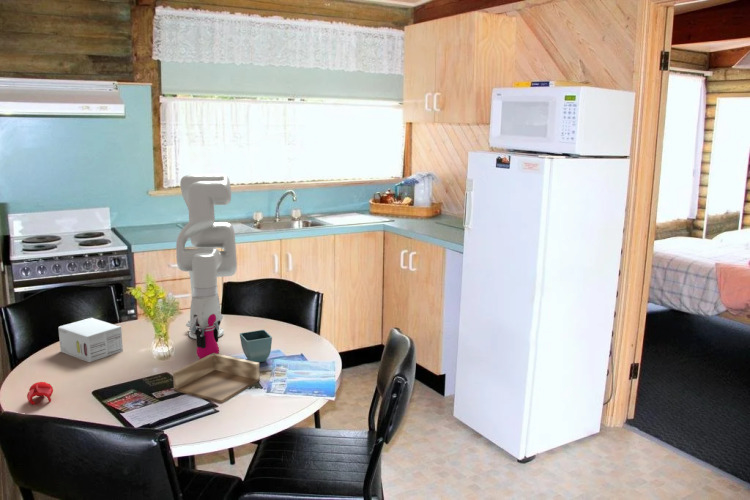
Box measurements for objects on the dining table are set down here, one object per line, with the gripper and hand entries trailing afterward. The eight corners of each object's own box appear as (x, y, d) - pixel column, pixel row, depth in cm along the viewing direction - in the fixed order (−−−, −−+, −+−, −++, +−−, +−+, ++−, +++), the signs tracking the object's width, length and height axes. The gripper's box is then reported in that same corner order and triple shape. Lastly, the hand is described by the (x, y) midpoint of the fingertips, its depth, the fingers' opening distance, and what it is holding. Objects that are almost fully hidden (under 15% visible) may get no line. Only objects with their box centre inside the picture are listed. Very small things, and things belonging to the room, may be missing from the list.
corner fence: (173, 387, 187) (172, 372, 186) (214, 367, 203) (213, 352, 202) (221, 400, 179) (220, 383, 178) (259, 377, 195) (259, 362, 194)
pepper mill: (199, 359, 211) (196, 302, 207) (221, 359, 211) (219, 302, 207) (195, 368, 204) (192, 309, 200) (217, 367, 204) (215, 308, 200)
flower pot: (247, 367, 205) (246, 341, 204) (239, 358, 213) (239, 332, 211) (273, 362, 209) (272, 337, 208) (264, 354, 217) (264, 329, 215)
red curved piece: (55, 393, 176) (56, 376, 180) (32, 391, 173) (33, 374, 177) (47, 410, 180) (48, 393, 184) (24, 408, 177) (25, 391, 181)
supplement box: (59, 352, 216) (57, 326, 214) (94, 341, 227) (92, 316, 225) (89, 363, 207) (86, 336, 206) (123, 351, 218) (121, 325, 216)
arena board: (173, 390, 187) (173, 387, 187) (214, 369, 203) (214, 367, 203) (221, 402, 179) (221, 400, 179) (259, 380, 195) (259, 377, 195)
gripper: (214, 283, 212) (216, 334, 215) (177, 295, 197) (180, 350, 200) (231, 286, 208) (233, 338, 212) (195, 299, 193) (198, 354, 197)
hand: (207, 343), depth 206 cm, fingers closed on pepper mill, 5 cm apart
